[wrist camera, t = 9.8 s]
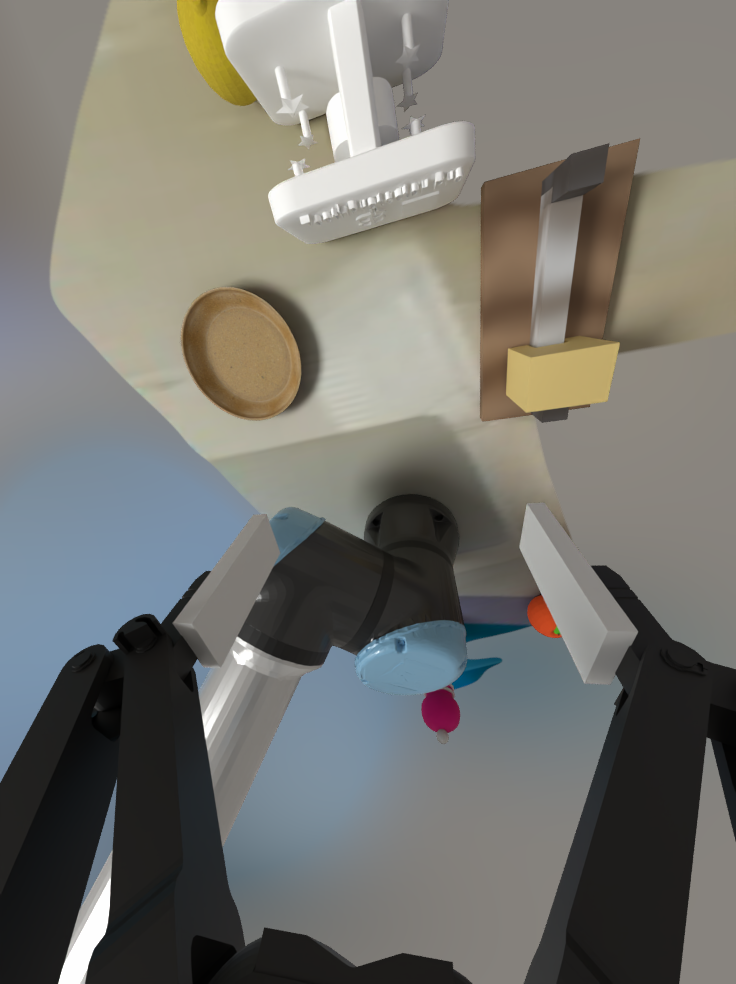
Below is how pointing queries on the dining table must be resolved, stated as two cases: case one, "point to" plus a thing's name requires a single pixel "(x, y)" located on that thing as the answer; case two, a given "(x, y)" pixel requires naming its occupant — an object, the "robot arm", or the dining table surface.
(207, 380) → the plant saucer
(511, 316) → the rail board
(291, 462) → the dining table surface
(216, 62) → the lemon
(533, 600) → the clementine
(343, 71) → the cable organizer
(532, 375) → the slider
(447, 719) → the pepper mill
